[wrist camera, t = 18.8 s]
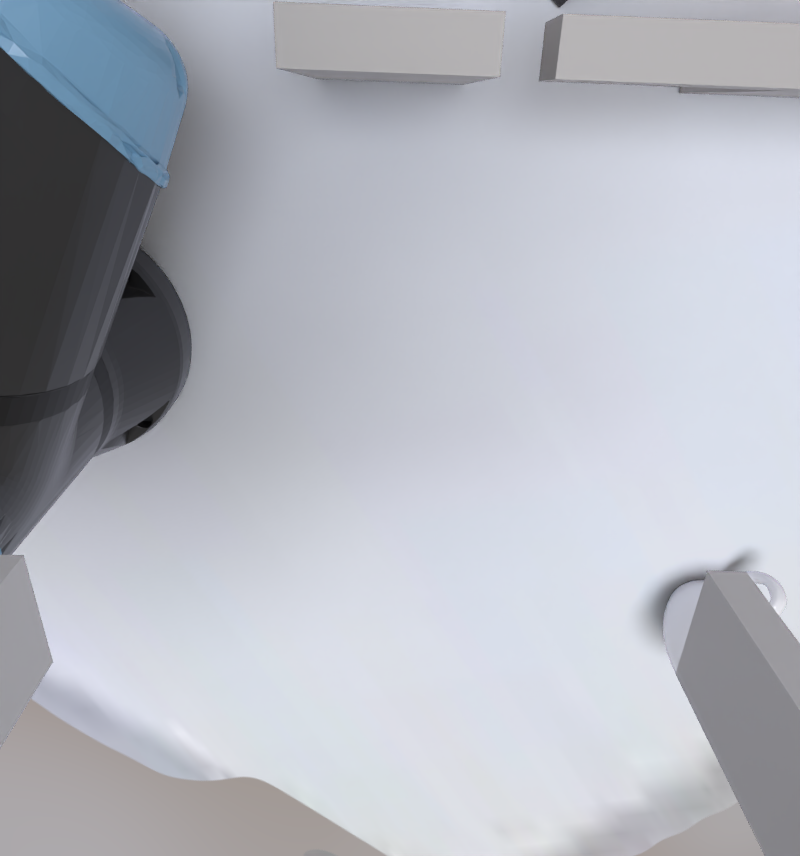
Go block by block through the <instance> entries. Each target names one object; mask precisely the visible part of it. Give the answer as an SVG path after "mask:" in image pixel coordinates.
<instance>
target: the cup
mask: <svg viewBox="0 0 800 856" xmlns="http://www.w3.org/2000/svg"><path fill="white" fill-rule="evenodd" d="M745 572H747V574H748V575H749V576H750V578H751V579H752V580H753V582H754V583H756V584H763V585H765V586H766V587H767V589H768V591H769V593H770V597H771V600H770V602H769V603H770V605H771V606H772V607H773V609H774V610H775V611H776V613H777V614H778V615H779V616H780V615H781V614H782V613H783V611H784V610H785V608H786V605H787V596H786V593H785V591H784V589H783V587H782V585H781V584H780V583H779V581H777V580H776V579H775V578H773V577H772V576H770V575H768V574H766V573H763V572H758V571H745ZM703 583H704V580H694V581H690V582H687V583H685V584H683V585H681V586H679V587H678V588H677V589H676V590H675V591H674V592H673V593H672V594H671V596H670V598H669V601H668V603H667V606H666V609H665V613H664V619H663V637H664V644H665V648H666V651H667V654H668V657H669V660H670V662H671V665H672V667H673V669H674V671H675V673H676V671H677V667H678V664H679V661H680V657H681V654H682V651H683V648H684V644H685V641H686V638H687V635H688V631H689V628H690V625H691V622H692V618H693V615H694V612H695V609H696V605H697V602H698V599H699V596H700V592H701V589H702V586H703Z"/></svg>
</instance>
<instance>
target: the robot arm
mask: <svg viewBox="0 0 800 856" xmlns="http://www.w3.org/2000/svg"><path fill="white" fill-rule="evenodd" d="M187 94H188V81H187V74H186V70H185V67H184V64H183V61H182V59H181V57H180V55H179V53H178V51H177V50H176V48H175V46H174V45H173V43H172V42H171V41H170V40H169V38H168V37H167V36H166V35H165V34H164V33H163V32H162V31H161V30H160V29H158V28H157V27H156V26H155V25H153V24H152V23H151V22H149V21H148V20H147V19H145V18H144V17H142V16H141V15H140V14H138V13H137V12H135V11H134V10H133V9H131V8H130V7H128V6H127V5H126V4H124V3H123V2H121V1H120V0H0V748H1V747H2V745H3V743H4V741H5V740H6V738H7V737H8V735H9V733H10V732H11V730H12V729H13V727H14V725H15V724H16V722H17V720H18V718H19V717H20V715H21V714H22V712H23V710H24V708H25V707H26V705H27V704H28V702H29V701H30V699H31V697H32V696H33V694H34V692H35V691H36V689H37V687H38V686H39V684H40V682H41V681H42V679H43V677H44V676H45V674H46V672H47V671H48V669H49V668H50V666H51V664H52V663H53V660H52V657H51V653H50V649H49V646H48V642H47V638H46V635H45V631H44V628H43V624H42V620H41V617H40V613H39V610H38V606H37V602H36V599H35V595H34V591H33V588H32V584H31V581H30V577H29V573H28V570H27V566H26V563H25V559H24V555H12V553H13V552H14V551H15V550H16V549H17V547H18V546H19V545H20V544H21V543H22V541H23V540H24V539H25V538H26V537H27V535H28V534H29V533H30V532H31V531H32V529H33V528H34V527H35V526H36V525H37V523H38V522H39V521H40V520H41V519H42V517H43V516H44V515H45V514H46V513H47V511H48V510H49V509H50V508H51V507H52V505H53V504H54V503H55V502H56V501H57V499H58V498H59V497H60V496H61V495H62V493H63V492H64V491H65V490H66V489H67V487H68V486H69V485H70V484H71V483H72V481H73V480H74V479H75V478H76V477H77V475H78V474H79V473H80V472H81V471H82V469H83V468H84V467H85V466H86V465H87V463H88V462H89V461H90V459H91V458H92V457H95V456H98V455H100V454H103V453H105V452H108V451H110V450H113V449H115V448H118V447H120V446H123V445H126V444H128V443H130V442H132V441H134V440H136V439H137V438H139V437H141V436H142V435H144V434H145V433H147V432H148V431H149V430H150V429H152V428H153V427H154V426H155V425H156V424H157V423H158V422H159V421H160V420H161V419H162V418H163V417H164V415H165V414H166V413H167V412H168V410H169V409H170V407H171V406H172V405H173V403H174V402H175V401H176V399H177V398H178V396H179V394H180V393H181V391H182V389H183V386H184V384H185V382H186V379H187V376H188V372H189V367H190V361H191V337H190V330H189V326H188V321H187V318H186V315H185V311H184V309H183V306H182V304H181V302H180V299H179V297H178V295H177V293H176V292H175V290H174V288H173V286H172V285H171V283H170V282H169V280H168V279H167V277H166V276H165V275H164V273H163V272H162V271H161V269H160V268H159V267H158V266H157V265H156V263H155V262H154V261H153V260H152V259H151V258H150V257H149V256H148V255H147V254H146V253H145V252H143V251H142V250H141V249H140V248H139V247H140V244H141V241H142V238H143V235H144V232H145V230H146V227H147V224H148V221H149V218H150V215H151V213H152V210H153V207H154V204H155V201H156V199H157V196H158V193H159V190H160V187H161V188H166V187H167V185H168V182H169V174H168V171H167V165H168V162H169V158H170V155H171V152H172V149H173V145H174V142H175V139H176V135H177V132H178V129H179V125H180V122H181V119H182V115H183V112H184V109H185V105H186V101H187ZM676 676H677V678H678V680H679V682H680V684H681V686H682V688H683V690H684V692H685V694H686V696H687V698H688V700H689V702H690V704H691V706H692V708H693V710H694V712H695V714H696V717H697V719H698V721H699V723H700V725H701V727H702V729H703V731H704V733H705V735H706V737H707V739H708V741H709V743H710V745H711V747H712V749H713V751H714V753H715V755H716V757H717V759H718V762H719V764H720V766H721V768H722V770H723V772H724V774H725V776H726V778H727V780H728V782H729V784H730V786H731V788H732V790H733V792H734V794H735V796H736V798H737V800H738V802H739V804H740V806H741V809H742V810H743V813H744V815H745V817H746V819H747V821H748V823H749V825H750V827H751V829H752V831H753V833H754V835H755V837H756V839H757V841H758V843H759V845H760V847H761V849H762V851H763V853H764V856H800V644H799V642H798V641H797V639H796V638H795V637H794V635H793V634H792V633H791V631H790V630H789V629H788V627H787V626H786V625H785V623H784V622H783V621H782V619H781V618H780V617H779V615H778V614H777V613H776V611H775V610H774V609H773V607H772V606H771V605H770V603H769V602H768V600H767V599H766V598H765V596H764V595H763V594H762V592H761V591H760V590H759V588H758V587H757V586H756V584H755V583H754V582H753V580H752V579H751V578H750V576H749V575H748V574H747V572H739V571H707V573H706V576H705V579H704V583H703V586H702V589H701V592H700V596H699V599H698V602H697V605H696V609H695V612H694V615H693V618H692V622H691V625H690V628H689V631H688V635H687V638H686V641H685V644H684V648H683V651H682V654H681V657H680V661H679V664H678V667H677V671H676Z"/></svg>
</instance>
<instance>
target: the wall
mask: <svg viewBox="0 0 800 856" xmlns="http://www.w3.org/2000/svg"><path fill="white" fill-rule="evenodd" d="M273 9H274V32H275V54H276V68H277V69H281V70H285V71H289V72H293V73H297V74H301V75H305V76H308V77H312V78H316V79H335V80H360V81H386V82H411V83H437V84H468V83H473V82H478V81H483V80H488V79H493V78H497V77H500V71H501V60H502V49H503V38H504V27H505V16H506V11H487V10H463V9H439V8H415V7H391V6H367V5H343V4H319V3H295V2H273ZM539 81H547V82H573V83H598V84H623V85H649V86H674V87H681V88H680V92H679V93H692V94H718V95H743V96H769V97H795V98H800V24H798V23H774V22H750V21H726V20H702V19H678V18H654V17H630V16H606V15H583V14H562V15H560V16H558V17H556V18H554V19H552V20H550V21H548V22H546V24H545V32H544V41H543V50H542V59H541V67H540V76H539Z"/></svg>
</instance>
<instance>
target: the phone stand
mask: <svg viewBox="0 0 800 856" xmlns="http://www.w3.org/2000/svg"><path fill="white" fill-rule="evenodd" d="M554 1H555V2H556V4H557V5H558V6H559V7H560V6H562V5H563V4H564V3H565V2H566V1H567V0H554Z"/></svg>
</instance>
